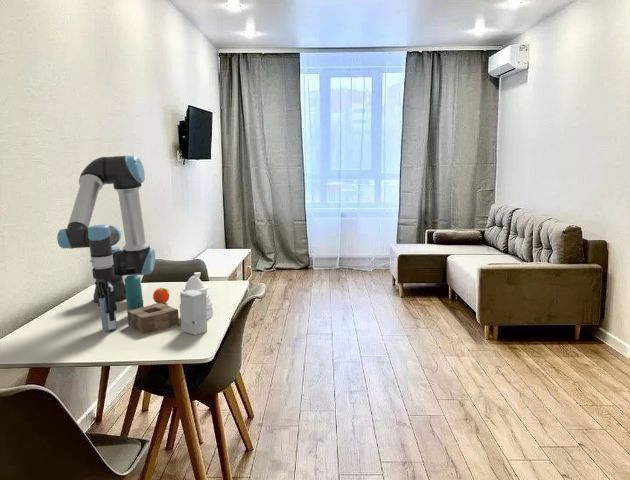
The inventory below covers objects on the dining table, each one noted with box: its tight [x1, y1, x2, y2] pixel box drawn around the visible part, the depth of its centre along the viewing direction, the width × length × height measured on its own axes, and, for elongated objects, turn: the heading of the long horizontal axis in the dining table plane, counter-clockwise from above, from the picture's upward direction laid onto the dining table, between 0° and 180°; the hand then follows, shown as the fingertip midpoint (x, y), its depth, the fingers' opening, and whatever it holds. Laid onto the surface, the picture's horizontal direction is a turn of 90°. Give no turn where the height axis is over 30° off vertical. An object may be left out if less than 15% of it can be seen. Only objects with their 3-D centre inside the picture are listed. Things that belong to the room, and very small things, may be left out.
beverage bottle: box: [123, 267, 145, 312], centre depth 228 cm, size 6×7×20 cm
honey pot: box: [179, 271, 214, 320], centre depth 224 cm, size 13×13×18 cm
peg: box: [99, 297, 118, 332], centre depth 212 cm, size 4×4×12 cm
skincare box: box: [179, 290, 208, 336], centre depth 205 cm, size 8×6×15 cm
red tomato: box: [152, 287, 171, 304], centre depth 246 cm, size 8×7×7 cm
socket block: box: [126, 303, 180, 335], centre depth 216 cm, size 14×14×6 cm
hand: (109, 327), depth 213 cm, fingers closed on peg, 4 cm apart
